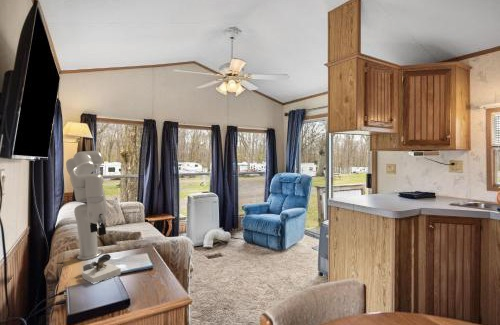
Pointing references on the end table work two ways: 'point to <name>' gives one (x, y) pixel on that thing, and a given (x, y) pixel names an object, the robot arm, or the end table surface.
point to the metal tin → (87, 267)
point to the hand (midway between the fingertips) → (98, 233)
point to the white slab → (101, 273)
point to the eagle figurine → (101, 262)
